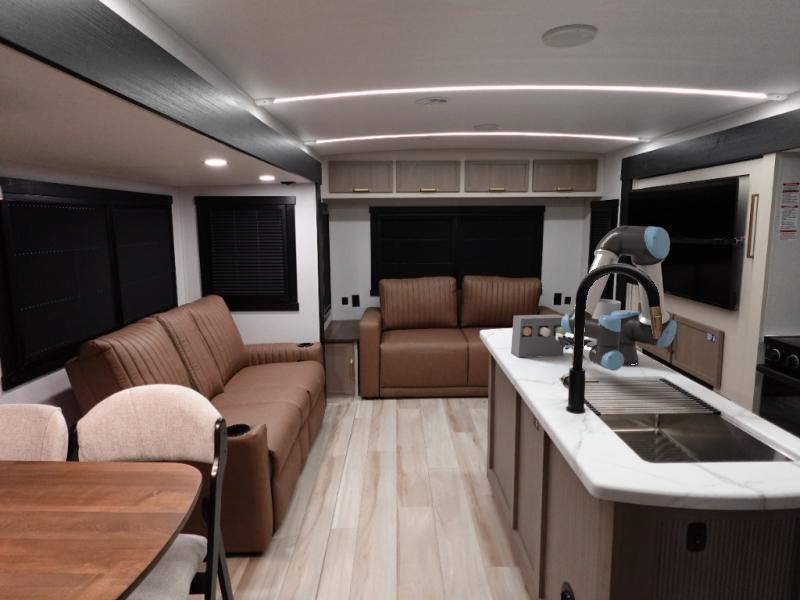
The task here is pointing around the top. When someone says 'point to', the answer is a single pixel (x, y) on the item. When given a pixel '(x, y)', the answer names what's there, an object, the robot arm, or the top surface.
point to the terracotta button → (526, 331)
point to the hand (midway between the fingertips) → (557, 336)
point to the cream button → (544, 331)
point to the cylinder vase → (605, 309)
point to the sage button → (559, 330)
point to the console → (535, 336)
